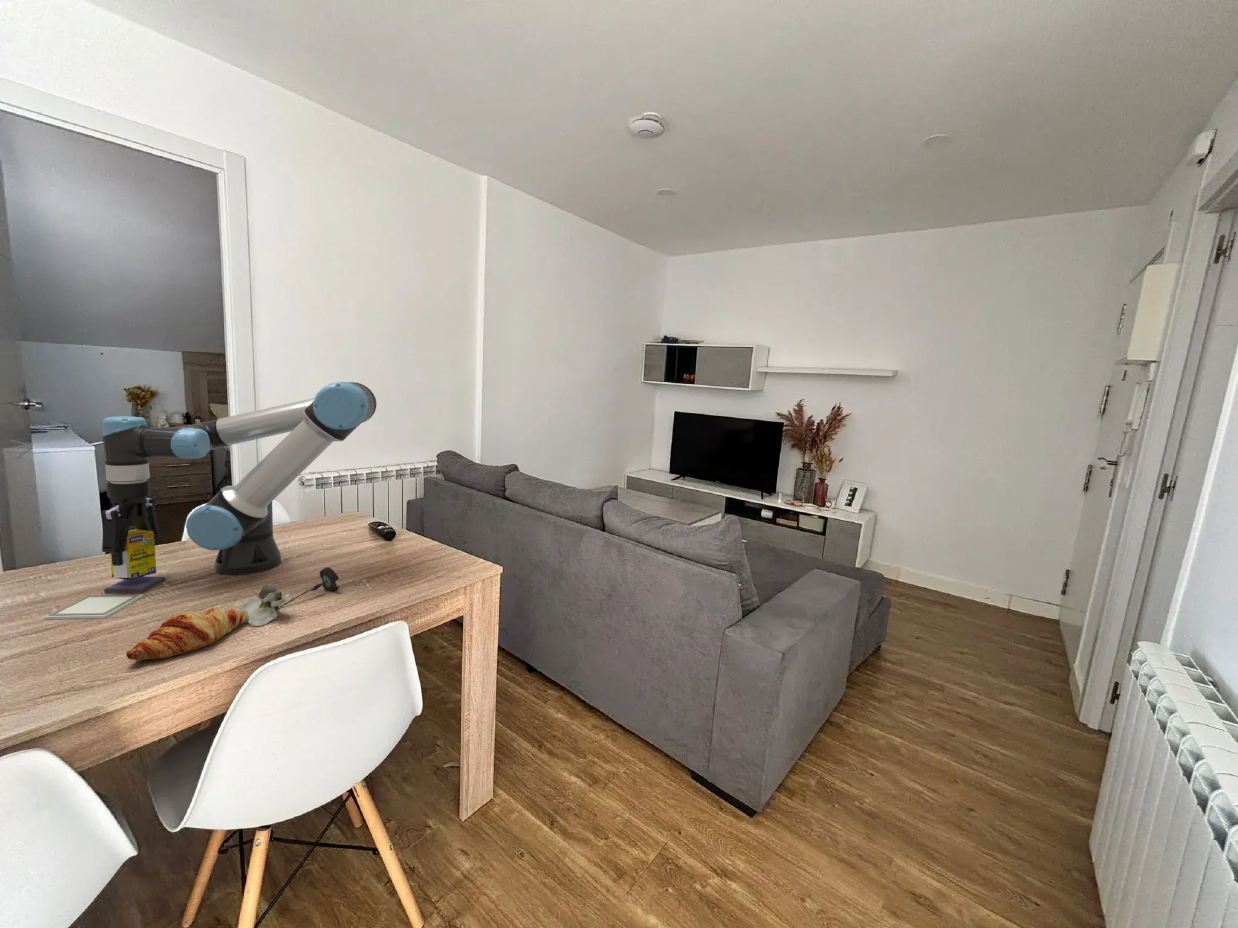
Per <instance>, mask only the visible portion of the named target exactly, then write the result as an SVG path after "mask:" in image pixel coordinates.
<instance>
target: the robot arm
mask: <svg viewBox="0 0 1238 928" xmlns="http://www.w3.org/2000/svg"><path fill="white" fill-rule="evenodd" d="M377 405H378V403H377V398H376V396H375V393H374V392H373V391H372V390H371V389H370V388H369V387H368V386H366V385H364V384H362V383H359V382H354V381H352V382H351V381H335V382H332V383H328V384H327V385H325V386H323V387H322V388H321V389H320V390H319V391H318V392H317V393H316V395H315V397H313V398H307V399H303V400H298V401H294V402H290V403H285V404H281V405H276V406H271V407H267V408H262V409H258V410H254V411H249V412H243V413H240V414H235V415H231V416H226V417H222V418H217V419H213V420H208V421H203V422H198V423H193V424H187V425H179V426H175V427H174V426H173V427H171V426H151V425H148V423H147V421H146V419H145V418H144V417H141V416H139V417H138V416H126V415H123V416H120V415H119V416H118V415H117V416H108V417H106V418H104V419H103V420H102V434H101V437H102V443H103V444H102V445H103V450H104V452H103V454H104V464H105V480H106V481H108V482H107V483H106V485H105V486H106V496H107V498H109V499H111V500H113V502H112V506H111V508H110V509H109V510H108V509H104V510H102V512H101V516H102V519H103V523H102V524H103V526H102V544H101V545H102V546H101V552H102V553H111V556H112V565H113V573H114V577H113V579H119V578H128V577H129V563H128V551H124V550H125V545H126V541H127V536H128V532H129V531H130V526H131V525H132V524H134V526H135V529H141V530H146V531H152V532H154V540H158V539H159V534H161V533H160V527H159V521H158V516H157V515H158V514H157V509H156V502H157V500H156V498H149V496H150V495H151V482H150V480H149V479H150V478H151V475H150V464H149V458H160V459H161V458H164V459H165V458H166V459H167V458H168V459H169V458H170V459H182V460H189V459H203V458H204V457H206V456H207V454H208V453H209V451H213V450H217V449H221V448H225V447H229V446H233V445H238V444H241V443H246V442H251V441H255V440H259V439H264V438H269V437H274V436H277V435H281V434H285V433H288V434H287V435H286V437H284V438H283V439H282V440H281V441H280V442H279V443H278V444H277V445H276V446H275V447H273V449H272V450H271V451H270V452H269V453H268V454H266V456H264V458H262V459H261V460H260V461H259V462H258V463H257V464H256V465H255V466H254V467H253V468H252V469H251V470H250V471H249V472H248V473H247V474H246V475H245V476H244V477H243V478H241V480H240V481H238V482H237V483H236V484H235V485H226V486H224V487H221V488H220V490H219V491H218V492H217V493H216V495H214V496H213V497H212V498H211V499H210V500H209V501H208V502H207V503H205V504H204V505H203V506H199V507H198V508H196V509H195V510H194V511H193V512H192V513H190V515H189V516H188V518H187V520H186V525H185V528H186V532H187V535H188V537H189V538H190V540H191V541H192V542H193V543H194V544H195V545H197V546H198V547H199V548H202V549H205V550H209V551H218V552H217V554H216V557H215V561H214V566H215V567H214V569H215V571H216V573H220V574H222V575H232V576H233V575H234V576H235V575H236V576H237V575H248V574H255V573H260V572H264V571H268V570H271V569H273V568H276V567H277V566H279V565H280V564H281V563H282V553H281V551H280V548H279V546H278V544H277V543H276V540H275V538H274V520H273V518H274V517H273V513H274V512H273V501H274V500H276V498H277V497H278V496H279V495H280V494H281V493H282V492H283V491H284V490H285V489H287V487H289V485H290V484H291V483H293V482H294V480H295V479H297V477H299V476H300V475H301V474H302V473H303V472H304V471H305V470H306V469H307V468H308V467H309V466H310V465H311V464H312V463H313V462H314V461H315V460H316V459H317V458H318V457H319V456H320V455H321V454H322V453H323V452H325V450H326V449H327V448H329V446H331V445H332V443H335V442H343V441H344V440H346V439H347V438H348V436H349V435H351V434H352V433H353V432H354V431H355V430H356V429H357V428H358V427H359V426H360V425H361V424H363V423H365V422H367V421H369V420H370V419H371V418H372V417H373V416H374V414H375V413H376V411H377V410H376V409H377ZM111 556H110V557H111Z"/></svg>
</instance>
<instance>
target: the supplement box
mask: <svg viewBox="0 0 1238 928" xmlns="http://www.w3.org/2000/svg"><path fill="white" fill-rule="evenodd" d="M155 542H156V541H155V539H154V532H152V531H146V530H141V529H136V528H135V529H131V530H130V529H129V532H128V536H127V541H126V545H125V550H124V551H128V563H129V577H128V578H118V579H119V580H129V581H131V580H134V579H137V578H140V577H148V576H150V575H154V574H156V573H157V563H156V562H157V561H156V543H155ZM109 553H110V552H109ZM109 555H110V567H111V569H110V570H111V577H112V578H114V573H113V565H112V556H111V553H110V554H109Z"/></svg>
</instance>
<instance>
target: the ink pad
mask: <svg viewBox="0 0 1238 928" xmlns="http://www.w3.org/2000/svg"><path fill="white" fill-rule="evenodd" d="M166 581H167V577H166V576H143V577H140V578H137V579H134V580H131V581H129V580H124V579H121V580H120V581H118V582H116V583H114V584H112V585H110V586H108V587H106V588H104V589H103V593H104V594H144V593H145V592H146V593H147V592H148V591H150V590H151V589H153V588H155V587H157V586H158V585H160V584H162V583H164V582H166Z"/></svg>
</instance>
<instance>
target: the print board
mask: <svg viewBox="0 0 1238 928" xmlns="http://www.w3.org/2000/svg"><path fill="white" fill-rule="evenodd" d="M143 597H144V595H143V594H89V595H86V596H84V597H82V598H80V599H78V600H75V601H73V602H71V603H70V604H67V605H66V606H63V607H60V608H59V609H57V610H55V611H54V612H51V613H49V614H47V615H45V616H44V620H80V619H81V620H83V619H85V620H86V619H87V620H88V619H89V620H91V619H93V620H95V619H96V620H97V619H107V618H108V617H111V616H112V615H114V614H116V613H118V612H119V611H122V610H123V609H126V608H127V607H128V606H130V605H132V604H133V603H135V602H137V601H139V600H140V599H143Z"/></svg>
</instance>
